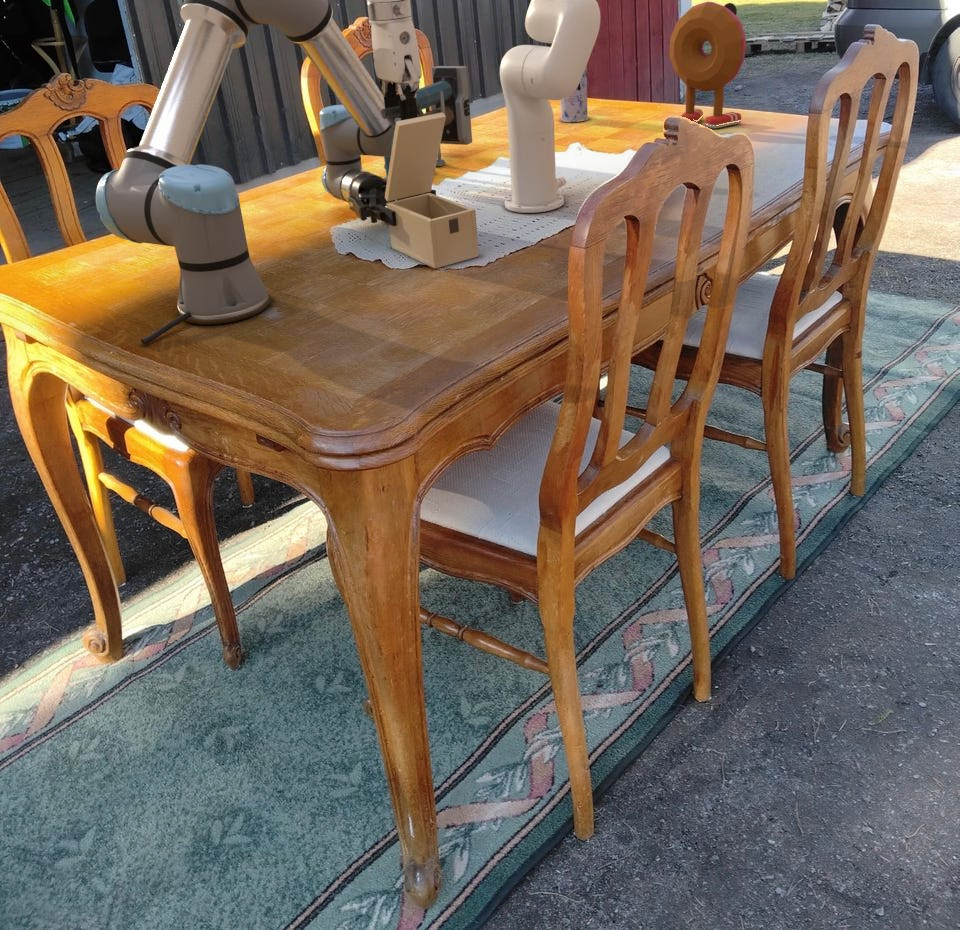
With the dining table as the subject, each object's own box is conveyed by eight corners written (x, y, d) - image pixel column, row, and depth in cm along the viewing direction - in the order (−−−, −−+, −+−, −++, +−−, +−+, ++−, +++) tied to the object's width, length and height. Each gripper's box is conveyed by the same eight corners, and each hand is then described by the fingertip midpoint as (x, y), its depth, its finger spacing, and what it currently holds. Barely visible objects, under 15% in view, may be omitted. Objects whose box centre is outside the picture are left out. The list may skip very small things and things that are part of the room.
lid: (446, 116, 173) (423, 88, 177) (399, 125, 169) (377, 96, 173) (431, 191, 187) (410, 163, 191) (387, 201, 183) (367, 173, 187)
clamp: (400, 190, 224) (389, 93, 213) (369, 188, 228) (356, 93, 217) (473, 154, 250) (466, 66, 239) (444, 152, 254) (436, 66, 243)
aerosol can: (559, 122, 275) (557, 47, 265) (562, 117, 282) (559, 42, 272) (587, 121, 274) (585, 45, 263) (589, 115, 280) (587, 41, 270)
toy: (751, 123, 256) (760, -2, 241) (731, 131, 250) (739, 4, 235) (683, 117, 270) (686, -2, 254) (662, 124, 263) (664, 3, 248)
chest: (479, 256, 180) (475, 209, 175) (434, 268, 176) (429, 221, 171) (434, 236, 192) (429, 192, 188) (392, 248, 188) (386, 203, 184)
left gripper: (414, 198, 208) (469, 219, 191) (320, 220, 199) (368, 245, 182) (410, 162, 204) (465, 181, 187) (314, 183, 195) (363, 205, 178)
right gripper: (432, 11, 164) (442, 122, 173) (386, 7, 177) (398, 110, 186) (393, 17, 161) (405, 130, 170) (349, 12, 174) (363, 117, 183)
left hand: (418, 212), depth 185 cm, fingers closed on chest, 10 cm apart
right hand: (401, 118), depth 178 cm, fingers open, 5 cm apart
